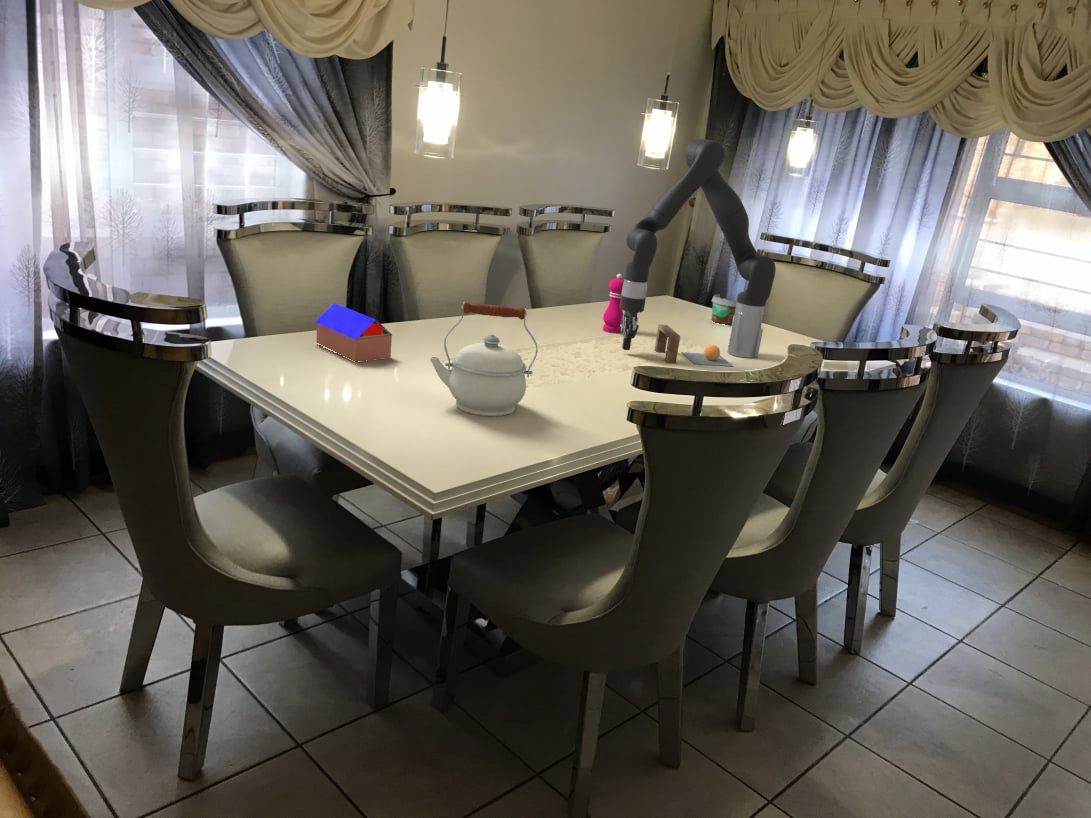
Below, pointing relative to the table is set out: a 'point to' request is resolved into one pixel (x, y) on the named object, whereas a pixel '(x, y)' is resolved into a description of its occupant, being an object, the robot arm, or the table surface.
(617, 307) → the pepper mill
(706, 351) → the ball
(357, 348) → the house
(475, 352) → the kettle
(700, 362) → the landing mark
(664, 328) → the bridge
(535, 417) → the table surface
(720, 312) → the food container
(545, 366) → the table surface
